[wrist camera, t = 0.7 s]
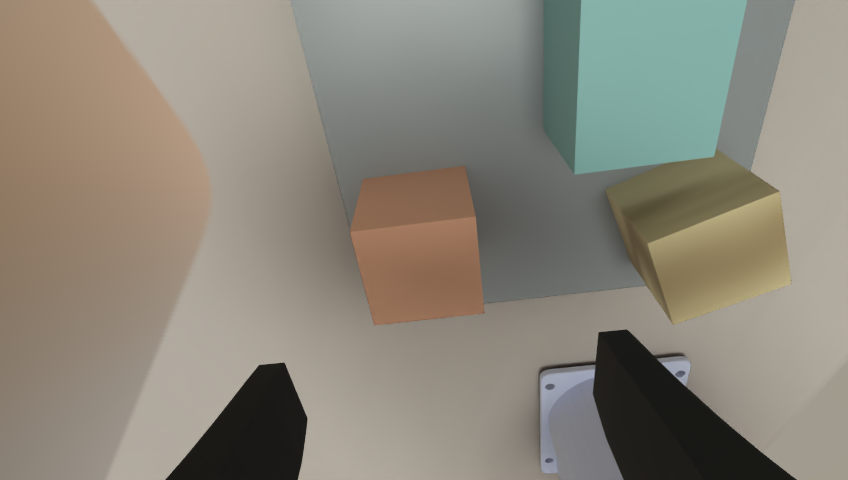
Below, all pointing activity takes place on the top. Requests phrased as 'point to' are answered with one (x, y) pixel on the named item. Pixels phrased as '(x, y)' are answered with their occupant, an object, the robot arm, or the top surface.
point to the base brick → (637, 79)
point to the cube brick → (418, 246)
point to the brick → (702, 234)
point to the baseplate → (495, 126)
